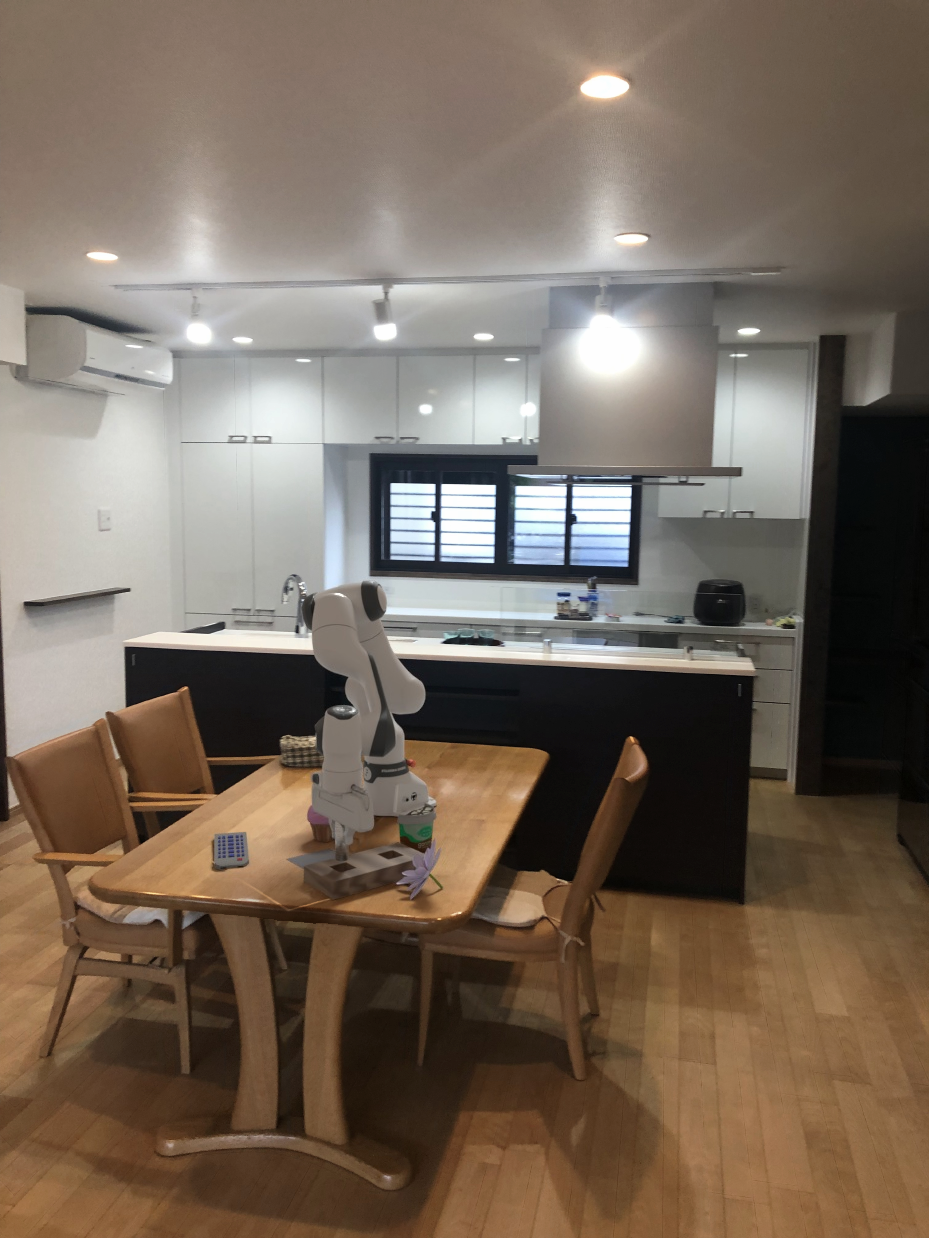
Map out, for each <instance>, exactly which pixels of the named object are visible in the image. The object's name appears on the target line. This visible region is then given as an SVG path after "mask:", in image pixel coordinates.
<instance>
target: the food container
mask: <svg viewBox="0 0 929 1238" xmlns="http://www.w3.org/2000/svg"><path fill="white" fill-rule="evenodd" d="M437 817H438V816H437V813H436V809H435V806H432V805H430V804H426V803H425V804H424V807H423V808H421V809H418V810H413V811H411V812H410V813H408V814H407V815H400V814H399V816H398V817H397V821H396V822H397V824H398V830H399V832H398V833H399V843H401V844H403V845H406V846H408V847H410V848H412V849H415V850H417V851H419V852H421V853H423V854H425V852H426V850H427V848H429V849H430V848H431V845H432V842H433V831H434V821H435V820H436V819H437Z"/></svg>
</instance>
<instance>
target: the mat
mask: <svg viewBox="0 0 929 1238" xmlns="http://www.w3.org/2000/svg"><path fill="white" fill-rule="evenodd" d="M334 858H335V850H334V849H331V848H325V849H322V850H321V849H320V850H316V851H313V852H309V853H306V854H305V853H304V854H300V855H297V856H292V857H289V858H286V861H289V862H290V863H292V864H294V865H295V866H298V867H299V868H301V869H303V870H304V866H306V865H310V864H314V863H318V862H322V861H326V860H330V859H334Z"/></svg>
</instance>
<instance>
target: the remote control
mask: <svg viewBox="0 0 929 1238" xmlns="http://www.w3.org/2000/svg"><path fill="white" fill-rule="evenodd" d="M247 834H248V833H247V831H238V832H237V831H236V832H224V833H214V835H213V836H214V837H213V839H214V845H213V846H214V847H213V849H214V850H213V851H214V852H213V854H214V855H213V859H214V860H213V861H214V864H213V865H214V869H215V870H217V869H218V871H227V870H228V869H233V868H234V869H235V868H238V867H247V866H248V865H249V864H250V857H249V855H250V854H249V845H248V837H247Z"/></svg>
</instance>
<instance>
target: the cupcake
mask: <svg viewBox="0 0 929 1238" xmlns="http://www.w3.org/2000/svg"><path fill="white" fill-rule="evenodd" d="M306 813H307V814H306V820H307V822H308V823H309V824H310V827H311V830H312V836H313V839H314V840H315V841H318V842H323V843H329V842H331V841H333V840H335V839H334V838H332V830H331V827H330V824H329V818H327V817H325V816H323V815H321V814H319V813H316V812H315V811H314V809H313V807H312V804H311V805H310V806H309V808H308V809H307V812H306Z"/></svg>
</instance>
